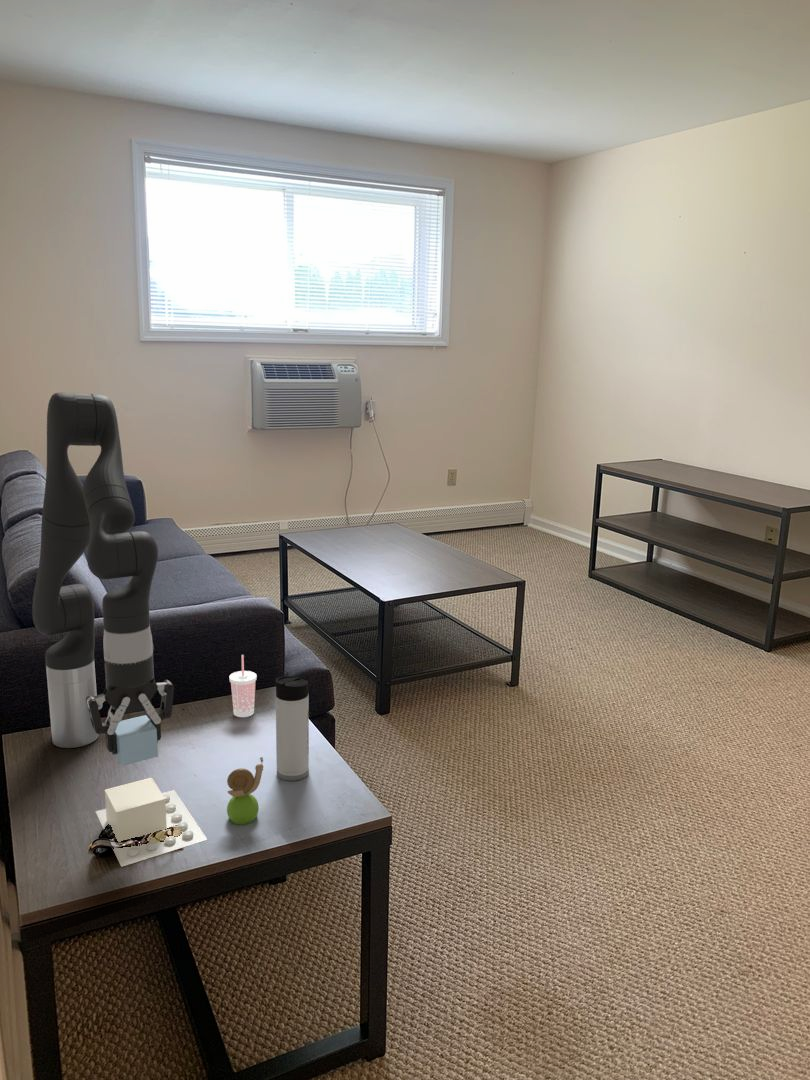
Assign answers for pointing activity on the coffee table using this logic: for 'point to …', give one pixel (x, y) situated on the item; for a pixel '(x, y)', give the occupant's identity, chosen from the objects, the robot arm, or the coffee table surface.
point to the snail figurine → (243, 794)
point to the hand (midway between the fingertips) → (134, 747)
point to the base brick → (135, 809)
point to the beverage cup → (243, 691)
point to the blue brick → (136, 740)
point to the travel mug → (292, 728)
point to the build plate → (174, 816)
